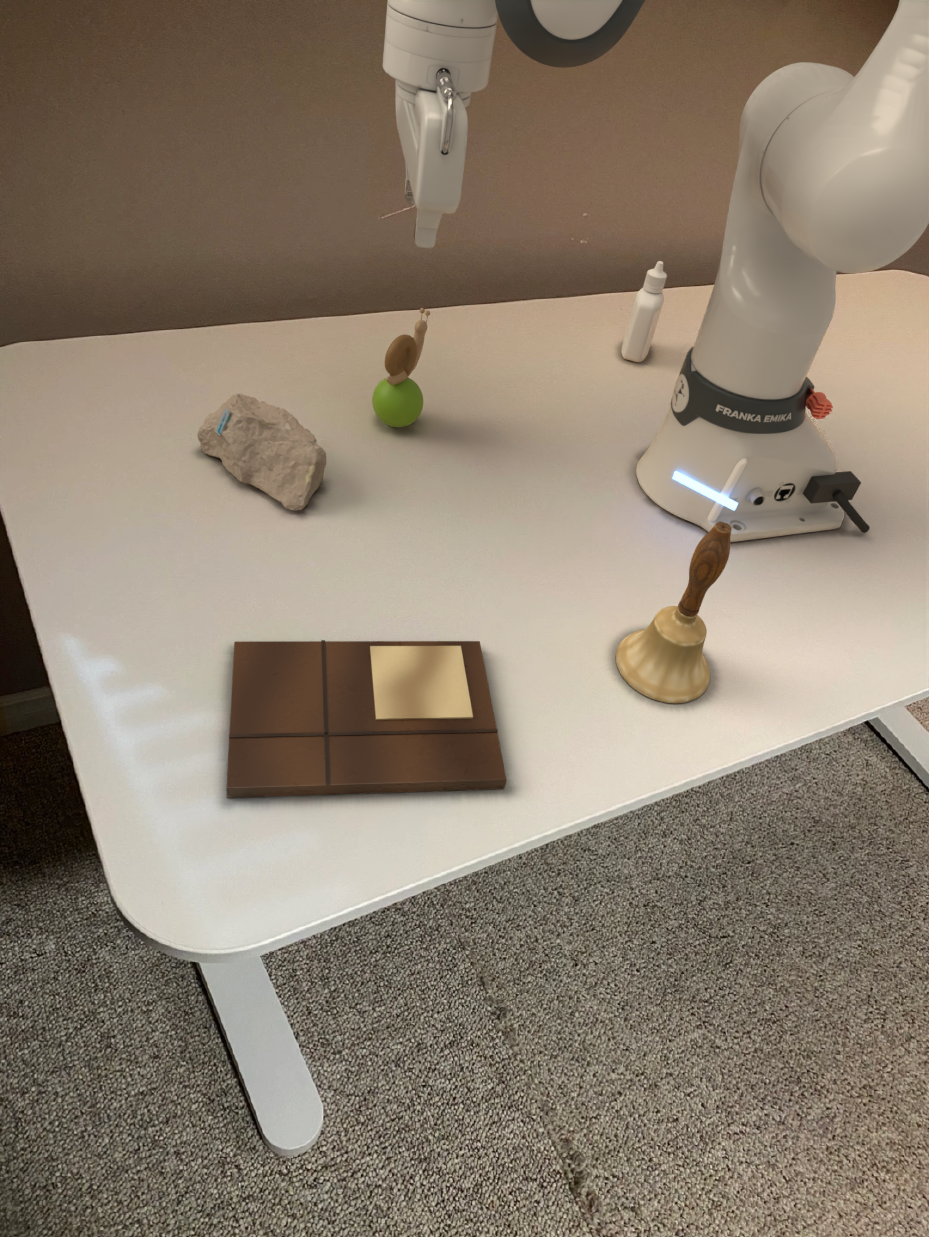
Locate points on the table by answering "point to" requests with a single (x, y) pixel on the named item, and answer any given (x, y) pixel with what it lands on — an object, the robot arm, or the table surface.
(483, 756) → the game board
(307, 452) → the concrete fragment
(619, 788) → the table surface
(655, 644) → the hand bell
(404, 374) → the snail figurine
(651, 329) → the eye dropper bottle
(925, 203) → the robot arm
